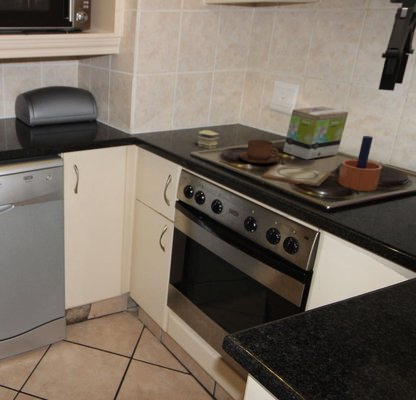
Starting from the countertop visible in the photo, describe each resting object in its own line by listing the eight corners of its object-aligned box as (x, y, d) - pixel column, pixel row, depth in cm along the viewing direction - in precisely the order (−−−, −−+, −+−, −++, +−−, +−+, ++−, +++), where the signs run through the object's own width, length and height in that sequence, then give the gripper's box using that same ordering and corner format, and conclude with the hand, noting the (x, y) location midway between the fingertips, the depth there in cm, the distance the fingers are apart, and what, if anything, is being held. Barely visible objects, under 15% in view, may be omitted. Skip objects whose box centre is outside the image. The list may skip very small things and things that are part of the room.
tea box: (308, 160, 153) (318, 115, 148) (282, 152, 162) (290, 108, 156) (338, 154, 160) (349, 110, 154) (311, 147, 168) (321, 105, 162)
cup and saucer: (281, 159, 155) (284, 141, 153) (274, 168, 146) (277, 149, 143) (243, 154, 161) (245, 136, 159) (234, 163, 152) (236, 144, 150)
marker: (362, 183, 131) (373, 136, 126) (361, 185, 129) (372, 138, 125) (353, 181, 132) (364, 135, 128) (352, 183, 131) (362, 137, 126)
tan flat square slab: (330, 175, 139) (331, 172, 139) (318, 188, 129) (319, 184, 129) (277, 166, 148) (277, 163, 148) (261, 177, 138) (262, 174, 138)
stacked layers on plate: (226, 149, 168) (228, 133, 166) (208, 152, 164) (210, 137, 162) (204, 143, 176) (206, 128, 174) (187, 146, 172) (188, 131, 170)
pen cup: (379, 184, 131) (384, 163, 129) (373, 193, 125) (378, 171, 123) (341, 178, 137) (346, 157, 135) (334, 186, 130) (338, 165, 128)
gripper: (401, -15, 110) (380, 79, 118) (384, -20, 93) (360, 91, 100) (442, -16, 106) (417, 81, 113) (432, -22, 88) (403, 94, 96)
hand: (390, 86), depth 107 cm, fingers open, 13 cm apart
